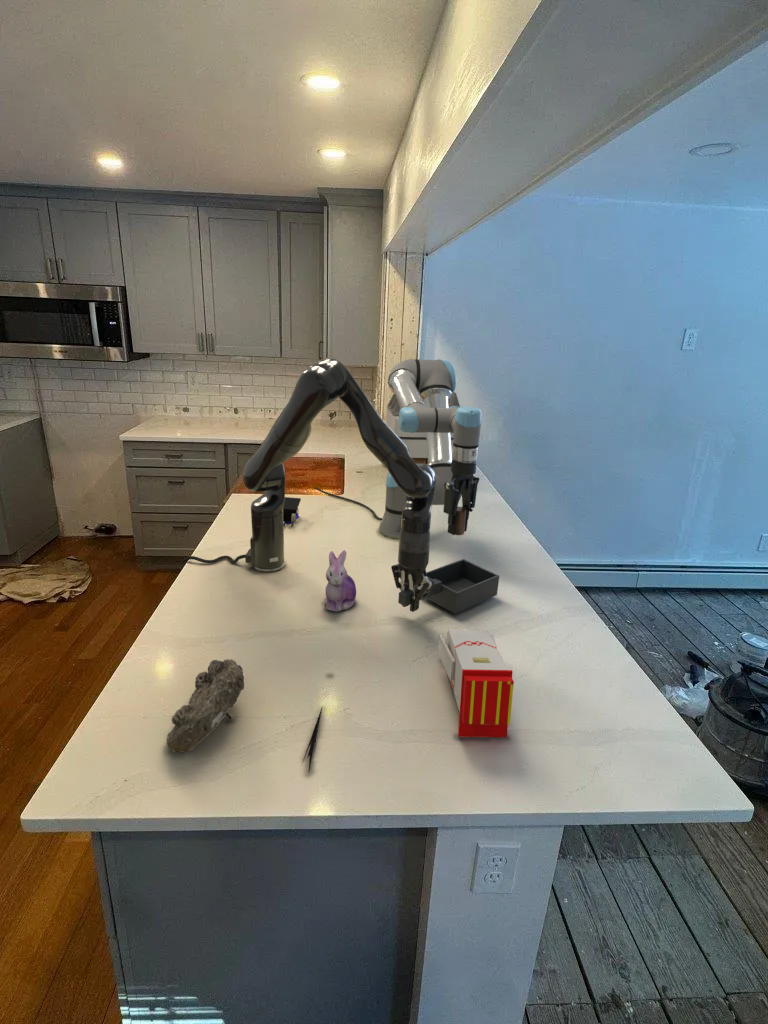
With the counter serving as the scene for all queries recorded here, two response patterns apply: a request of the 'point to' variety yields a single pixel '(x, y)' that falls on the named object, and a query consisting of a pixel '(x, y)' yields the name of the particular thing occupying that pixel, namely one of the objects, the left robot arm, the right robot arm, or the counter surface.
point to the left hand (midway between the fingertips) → (409, 607)
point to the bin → (458, 586)
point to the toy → (478, 682)
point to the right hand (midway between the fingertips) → (457, 531)
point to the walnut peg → (460, 520)
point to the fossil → (206, 705)
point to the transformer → (417, 439)
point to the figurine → (339, 584)
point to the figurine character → (290, 510)
